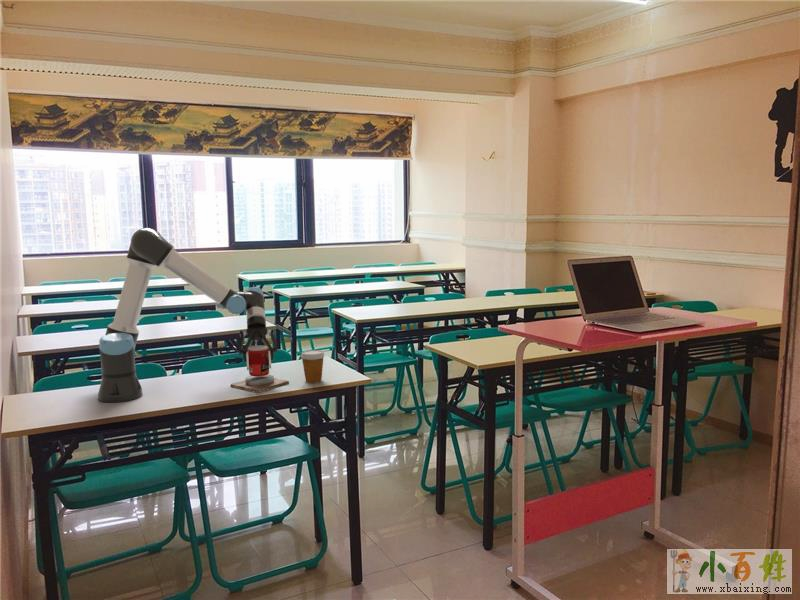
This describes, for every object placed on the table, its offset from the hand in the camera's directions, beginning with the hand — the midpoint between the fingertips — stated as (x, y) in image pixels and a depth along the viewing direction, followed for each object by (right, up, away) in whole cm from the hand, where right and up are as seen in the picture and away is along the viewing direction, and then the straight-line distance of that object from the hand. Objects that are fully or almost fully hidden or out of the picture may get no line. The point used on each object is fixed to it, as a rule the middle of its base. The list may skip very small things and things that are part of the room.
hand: (259, 367), depth 245 cm
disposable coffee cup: (+20, -7, +9) cm, 23 cm away
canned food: (-1, -3, +4) cm, 5 cm away
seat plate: (-1, -8, +4) cm, 9 cm away
